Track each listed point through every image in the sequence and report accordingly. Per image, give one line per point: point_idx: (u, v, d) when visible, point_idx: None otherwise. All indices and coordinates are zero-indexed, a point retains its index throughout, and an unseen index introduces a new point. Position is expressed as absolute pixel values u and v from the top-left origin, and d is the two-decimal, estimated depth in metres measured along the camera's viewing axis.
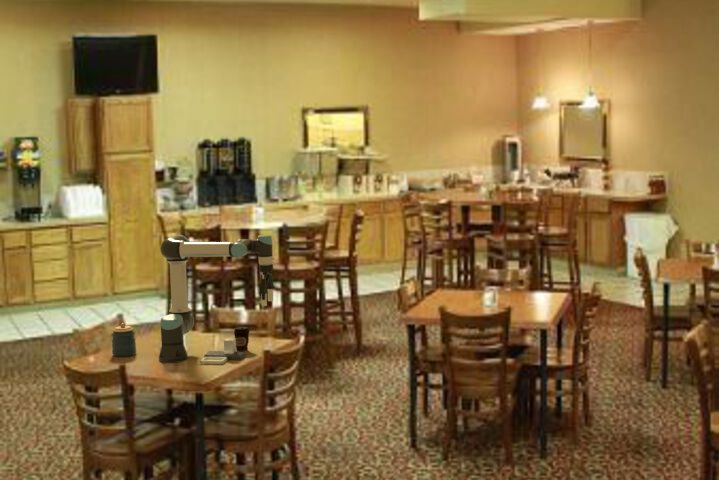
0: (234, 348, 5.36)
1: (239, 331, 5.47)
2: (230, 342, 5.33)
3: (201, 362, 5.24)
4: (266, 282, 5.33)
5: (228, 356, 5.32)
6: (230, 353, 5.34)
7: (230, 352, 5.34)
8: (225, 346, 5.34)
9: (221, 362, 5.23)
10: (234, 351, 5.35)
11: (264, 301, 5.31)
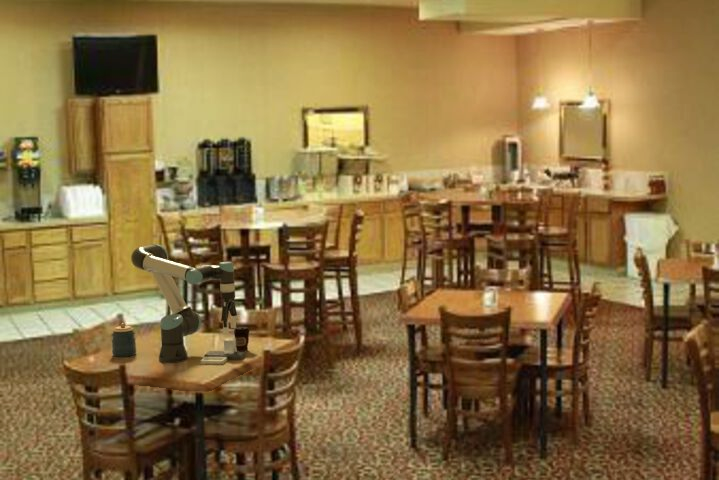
0: (234, 348, 5.35)
1: (239, 331, 5.47)
2: (230, 342, 5.33)
3: (201, 362, 5.24)
4: (228, 309, 5.29)
5: (228, 356, 5.32)
6: (230, 353, 5.34)
7: (230, 352, 5.34)
8: (225, 346, 5.34)
9: (221, 362, 5.23)
10: (234, 351, 5.35)
11: (226, 328, 5.28)
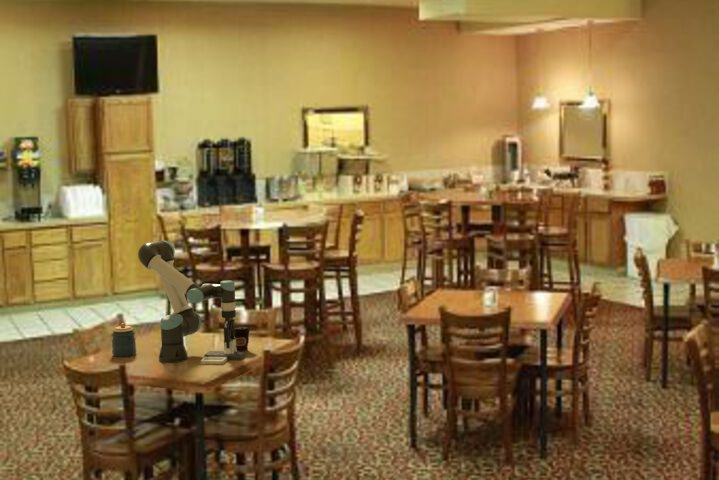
0: (234, 348, 5.36)
1: (239, 331, 5.47)
2: None
3: (201, 362, 5.24)
4: (229, 330, 5.32)
5: (228, 356, 5.32)
6: None
7: None
8: (225, 346, 5.34)
9: (221, 362, 5.23)
10: (234, 351, 5.35)
11: (229, 349, 5.33)
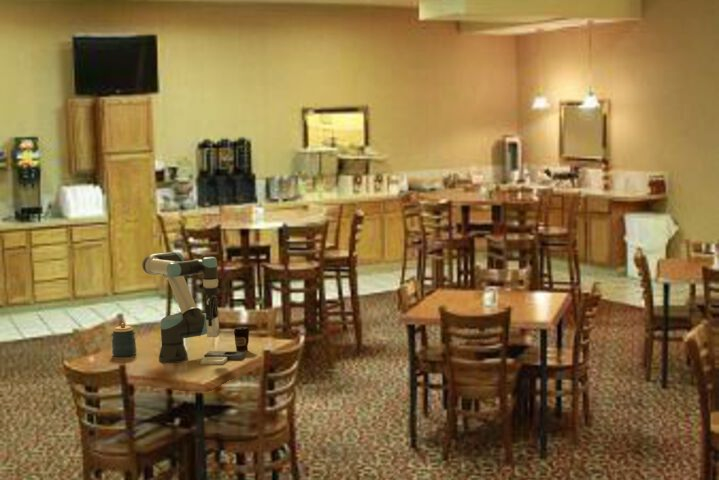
0: (217, 326, 5.25)
1: (239, 331, 5.47)
2: None
3: (201, 362, 5.24)
4: (211, 307, 5.21)
5: (228, 356, 5.32)
6: None
7: None
8: (207, 324, 5.23)
9: (221, 362, 5.23)
10: (216, 329, 5.24)
11: (211, 327, 5.22)
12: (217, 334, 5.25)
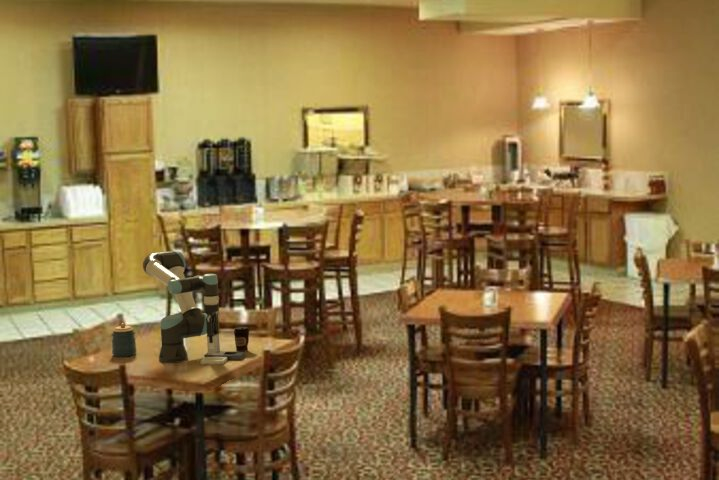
0: (217, 343, 5.26)
1: (239, 331, 5.47)
2: None
3: (201, 362, 5.24)
4: (212, 324, 5.22)
5: (228, 356, 5.32)
6: None
7: None
8: (208, 341, 5.24)
9: (221, 362, 5.23)
10: (217, 346, 5.25)
11: (212, 344, 5.23)
12: (218, 351, 5.26)
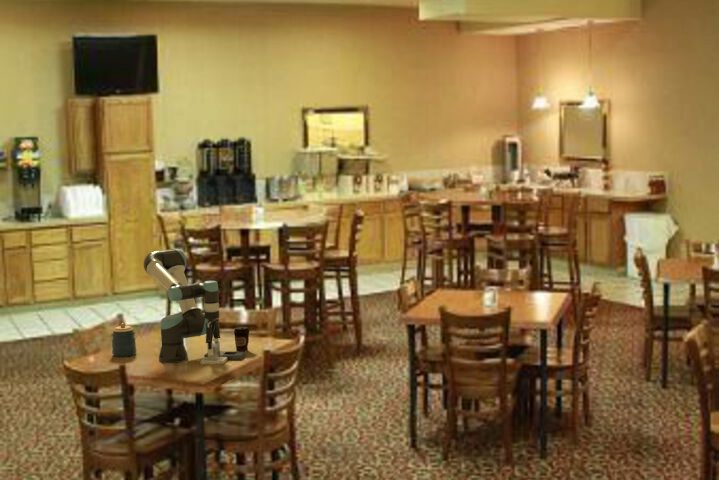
0: (218, 351, 5.27)
1: (239, 331, 5.47)
2: (214, 345, 5.24)
3: (201, 362, 5.24)
4: (212, 330, 5.22)
5: (228, 356, 5.32)
6: (214, 356, 5.25)
7: (214, 355, 5.25)
8: None
9: (221, 362, 5.23)
10: (217, 354, 5.26)
11: (210, 350, 5.22)
12: (218, 359, 5.27)
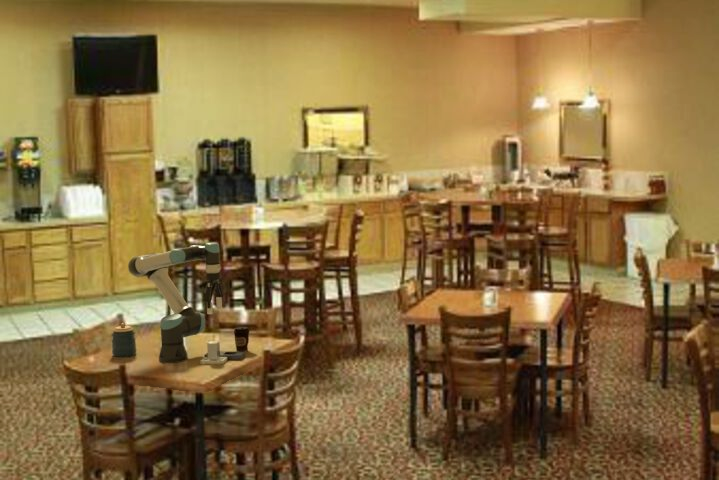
0: (218, 351, 5.27)
1: (239, 331, 5.47)
2: (214, 345, 5.24)
3: (201, 362, 5.24)
4: (212, 290, 5.27)
5: (228, 356, 5.32)
6: (214, 356, 5.25)
7: (214, 355, 5.25)
8: (208, 349, 5.25)
9: (221, 362, 5.23)
10: (217, 354, 5.26)
11: (210, 309, 5.26)
12: (218, 359, 5.27)
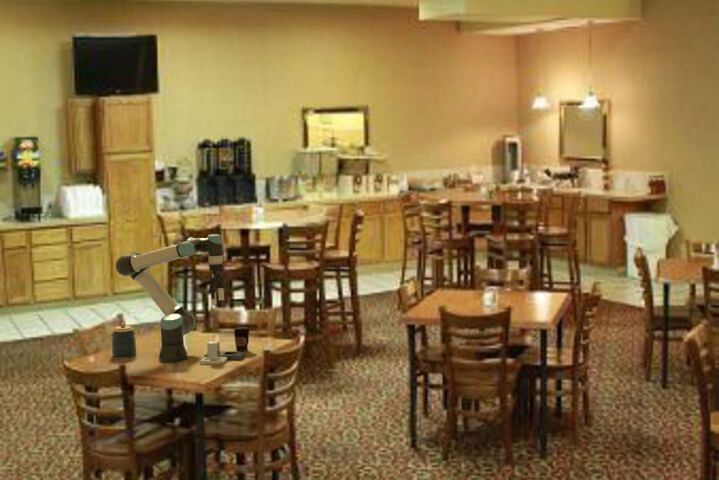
0: (218, 351, 5.27)
1: (239, 331, 5.47)
2: (214, 345, 5.24)
3: (201, 362, 5.24)
4: (216, 281, 5.36)
5: (228, 356, 5.32)
6: (214, 356, 5.25)
7: (214, 355, 5.25)
8: (208, 349, 5.25)
9: (221, 362, 5.23)
10: (217, 354, 5.26)
11: (214, 300, 5.34)
12: (218, 359, 5.27)
